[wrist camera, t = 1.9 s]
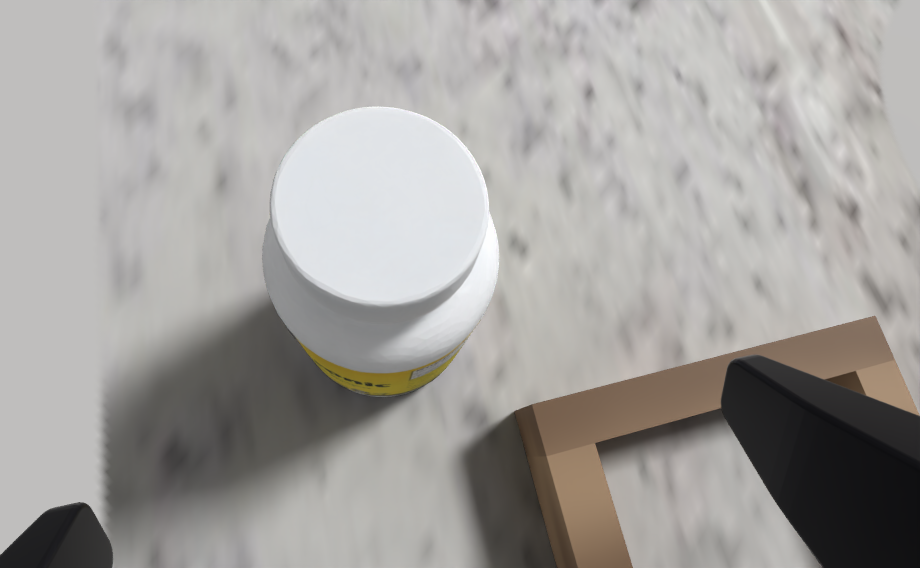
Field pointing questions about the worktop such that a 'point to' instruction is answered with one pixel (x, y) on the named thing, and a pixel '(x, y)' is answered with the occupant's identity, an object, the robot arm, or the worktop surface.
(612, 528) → the brown wooden frame
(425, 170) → the supplement bottle
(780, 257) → the worktop surface
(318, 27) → the worktop surface
